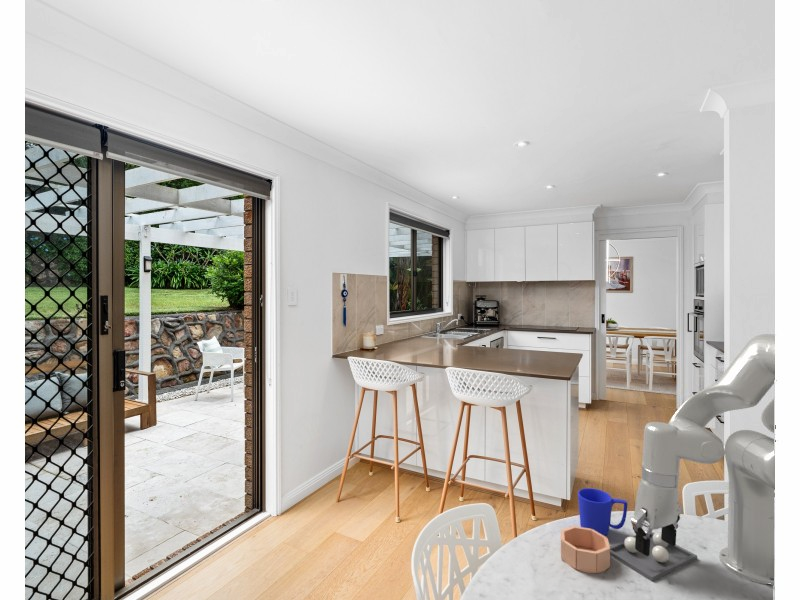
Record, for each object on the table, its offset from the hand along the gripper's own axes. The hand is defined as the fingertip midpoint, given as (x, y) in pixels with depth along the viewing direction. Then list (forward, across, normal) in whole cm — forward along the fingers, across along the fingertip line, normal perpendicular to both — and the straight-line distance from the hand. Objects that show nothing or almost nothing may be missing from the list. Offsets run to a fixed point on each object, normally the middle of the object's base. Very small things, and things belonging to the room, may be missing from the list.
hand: (655, 547), depth 103 cm
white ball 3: (+3, -1, +1) cm, 3 cm away
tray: (+4, -1, -2) cm, 4 cm away
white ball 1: (+3, +1, -5) cm, 6 cm away
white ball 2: (+3, -7, -3) cm, 8 cm away
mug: (+4, 0, -14) cm, 15 cm away
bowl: (+4, +14, -8) cm, 17 cm away
